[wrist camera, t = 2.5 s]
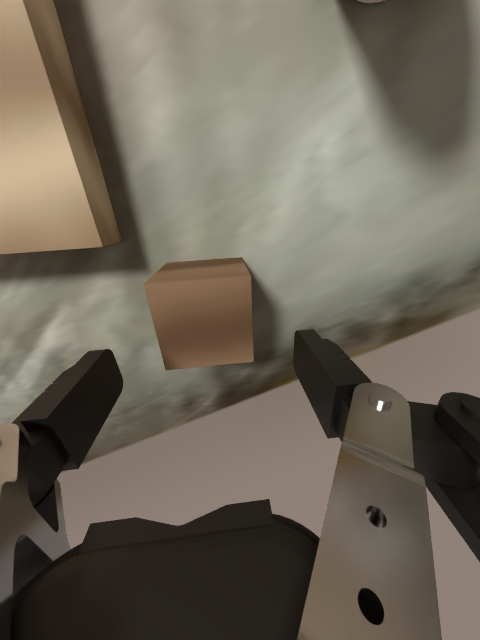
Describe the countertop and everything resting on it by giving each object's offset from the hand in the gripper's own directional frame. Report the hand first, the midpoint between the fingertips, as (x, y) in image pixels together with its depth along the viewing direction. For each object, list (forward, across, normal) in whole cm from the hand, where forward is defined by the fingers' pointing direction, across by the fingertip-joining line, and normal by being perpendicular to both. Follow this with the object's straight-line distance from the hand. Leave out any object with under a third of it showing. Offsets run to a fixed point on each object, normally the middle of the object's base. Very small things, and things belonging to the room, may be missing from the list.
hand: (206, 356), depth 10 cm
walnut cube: (+7, 0, -1) cm, 7 cm away
